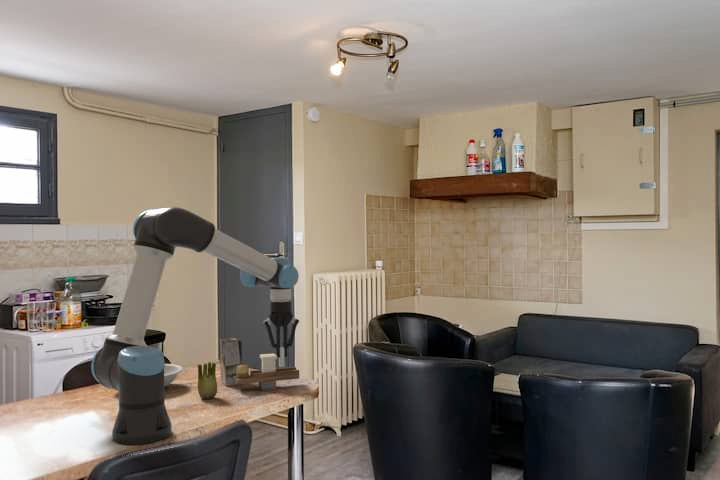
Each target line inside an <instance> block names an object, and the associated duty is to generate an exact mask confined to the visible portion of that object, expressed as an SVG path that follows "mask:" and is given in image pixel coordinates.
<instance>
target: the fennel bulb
mask: <svg viewBox="0 0 720 480" xmlns="http://www.w3.org/2000/svg"><path fill="white" fill-rule="evenodd" d="M216 367H217V362H211V361H208V362H205V363H203V364H202V363H199V364H197V378H198V379H197V392H198V395H199V397H200V398H201V399H204V400H211V399H214V398H215V397H216V396H217V394H218V381H217V376H216Z"/></svg>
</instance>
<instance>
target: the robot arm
mask: <svg viewBox="0 0 720 480" xmlns="http://www.w3.org/2000/svg"><path fill="white" fill-rule="evenodd" d="M132 233H133V236H134V239H135V240H134V244H133V249H134V251H135V252H136V256H135V259H134V262H133V265H132V269H131V273H130V276H129V280H128V283H127V286H126V290H125V292H124V296H123V299H122V302H121V306H120V309H119V313H118V315H117V319H116V322H115V326H114V329H113V332H112V333H111V334H109V335H108V336H106V337H105V339H104V343H103V345H102V347H101V348H100V349H99V350H97V351H96V352H95V354H94V355H93V357H92V360H91V364H90V367H91V373H92V376H93V377H94V379H95V380H96V381H97V383H99V384H100V385H101V386H103V387H105V388H107V389H113V390H114V391H118V412H117V414H116V418H115V421H114V424H113V428H112V431H111V433H112V435H111V437H112V441H113V442H114V443H116V444H120V445H131V446H132V445H143V444H149V443H154V442H159V441H161V440H163V439H165V438H167V437H169V436H171V434H172V433H173V431H172V429H173V428H172V426H173V425H172V421H171V419H170V416H169V414H168V410H167V407H166V404H165V403H166V402H165V387H164V367H165V364H166V363H165V362H166V361H165V359H164V353H163V352H162V350H161V349H159V348H157V347H155V346H148V345H147V344H146V342H145V335H146V331H147V328H148V326H149V322H150V317H151V315H152V311H153V309H154V308H153V307H154V304H155V300H156V297H157V294H158V290H159V288H160V283H161V280H162V277H163V273H164V271H165V266H166V262H167V261H169V260H170V259H172V258H173V257H174V254H175V251H176V248H184V249H189V250H191V251H194V252H196V253H203V252H204V253H207V254H209V255H210V256H213V258H214V257H215V258H216V259H218V260H220V261H223V262H224V263H227V264H229V265H231V266H234V267H235V268H238V269H239V270H240V272H239V278H240V282H241V284H242V285H243V286H245V287H250V288H251V287H252V288H254V287H265V288H266V287H267V288H268V287H269V289H270V290H269V291H270V292H269V294H270V295H269V299H270V305H269V309H270V313H269V316H268V318H266V319H264V320H263V321H262V323H263V325H264V327H265V328H266V333H267V337H268V340H269V343H270V344H269V346H271V348H274V349H275V355H276V356H277V359H278V367H279V368H286V367H285V358H287V357H288V348H289V347H293V342H294V339H295V334H296V330H297V326H298V325H299V323H300V320H299V318H296V317H294V315H293V312H292V309H293V308H292V301H291V300H292V288H293V287H295V286H296V284H298V281H299V277H300V276H299V270H298V269H297V267H296V266H294V265H292V263H291V259H290V258H289V257H269V256H267V255H265V254H264V253H261V252H260V251H257V250H256V249H255V248H253V247H250V246H249V245H246V244H245V243H243V242H241V241H239V240H237V239H236V238H234V237H232V236H229V235H228V234H226V233H224V232H223V231H220V230H218V229H216V226H215V224H214V223H212V222H211V221H208V220H207V219H205V218H203V217H202V216H199V215H197V214H195V213H193V212H192V211H190V210H188V209H184V208H182V207H175V206H174V207H172V206H171V207H164V208H163V207H162V208H160V207H158V208H157V207H156V208H151V209H148V210H145V211H143V212H141V213H140V214H139V215H138V216H137V218H135V221H134V222H133V227H132ZM290 323H291V326H290V330H289V335H288V325H289V324H290ZM271 324H273V326H274V329H275V332H274V333H275V339H274V336H273V332H272V328H271ZM281 328H282V329H281ZM281 330H282V347H281Z"/></svg>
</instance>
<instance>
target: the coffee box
mask: <svg viewBox="0 0 720 480" xmlns="http://www.w3.org/2000/svg"><path fill="white" fill-rule="evenodd" d="M242 341H243V340H241V339H240V338H238V337H225V338H220V339H219V343H220V345H219V347H220V352H219V353H220V382H221V383H222V384H223V385H224V386H226V387H229V386H237V385H239V386H241V384H236V382H235V376H237V366H239V365H243V349H242V348H243V346H242V343H243V342H242Z"/></svg>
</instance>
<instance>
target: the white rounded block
mask: <svg viewBox="0 0 720 480" xmlns="http://www.w3.org/2000/svg"><path fill="white" fill-rule="evenodd" d="M259 358H260V360H261V370H262V373H266V372H276V369H277V367H276V363H277V362H276V360H277V359H278V358H277V356H276V353H263V354H262V353H261V354H260V353H259Z"/></svg>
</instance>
